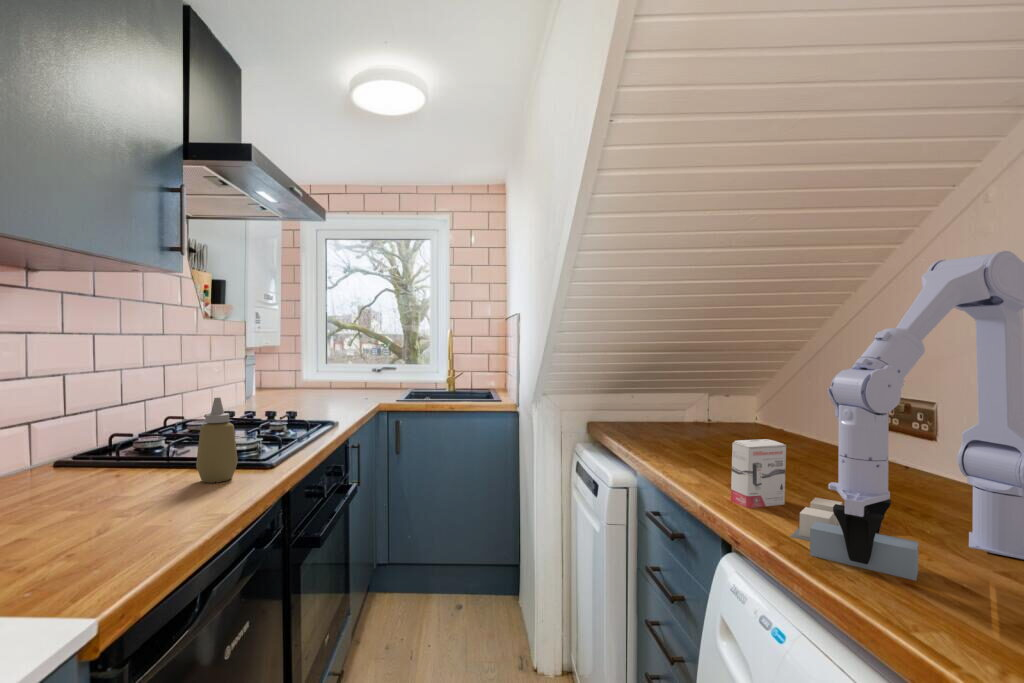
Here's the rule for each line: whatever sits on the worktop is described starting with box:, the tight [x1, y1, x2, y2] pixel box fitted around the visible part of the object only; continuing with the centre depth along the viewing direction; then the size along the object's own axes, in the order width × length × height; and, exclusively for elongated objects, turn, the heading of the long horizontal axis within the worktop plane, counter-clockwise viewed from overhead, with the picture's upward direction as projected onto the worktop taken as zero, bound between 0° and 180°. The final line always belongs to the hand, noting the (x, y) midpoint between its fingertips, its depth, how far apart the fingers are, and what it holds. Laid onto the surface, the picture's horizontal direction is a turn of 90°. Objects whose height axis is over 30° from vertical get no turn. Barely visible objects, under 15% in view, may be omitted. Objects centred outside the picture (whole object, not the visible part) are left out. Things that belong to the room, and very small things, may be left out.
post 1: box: [809, 497, 843, 526], centre depth 88 cm, size 4×4×4 cm
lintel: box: [809, 521, 919, 582], centre depth 72 cm, size 4×12×4 cm, turn 49°
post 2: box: [799, 506, 834, 538], centre depth 83 cm, size 4×4×4 cm
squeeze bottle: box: [195, 397, 239, 484], centre depth 115 cm, size 8×8×18 cm
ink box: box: [730, 438, 787, 509], centre depth 99 cm, size 9×5×12 cm, turn 106°
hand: (862, 555), depth 72 cm, fingers open, 5 cm apart
